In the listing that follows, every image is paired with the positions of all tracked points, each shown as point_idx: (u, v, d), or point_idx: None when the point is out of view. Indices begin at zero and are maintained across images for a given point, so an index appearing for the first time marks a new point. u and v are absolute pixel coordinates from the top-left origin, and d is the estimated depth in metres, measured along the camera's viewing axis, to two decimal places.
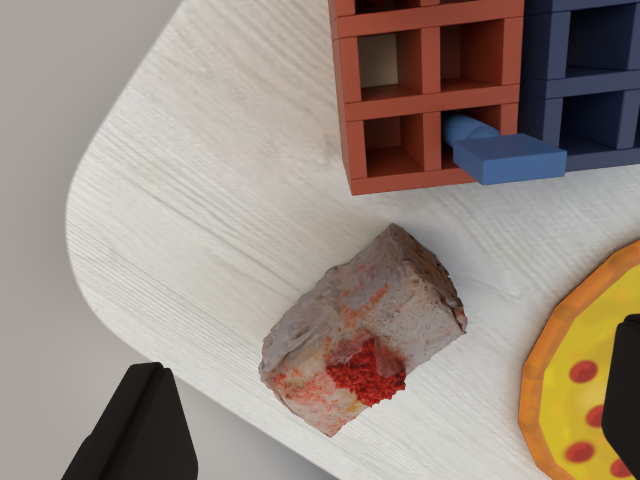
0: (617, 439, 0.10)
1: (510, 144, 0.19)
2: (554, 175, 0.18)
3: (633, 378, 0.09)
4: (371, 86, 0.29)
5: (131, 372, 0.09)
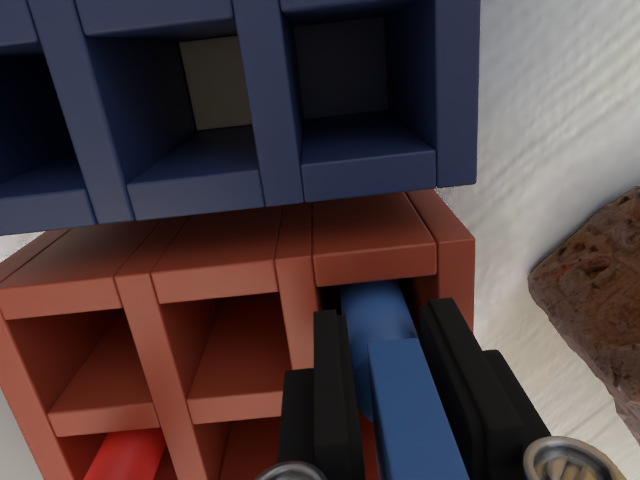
0: None
1: (385, 478, 0.08)
2: None
3: (427, 355, 0.10)
4: None
5: (318, 316, 0.10)
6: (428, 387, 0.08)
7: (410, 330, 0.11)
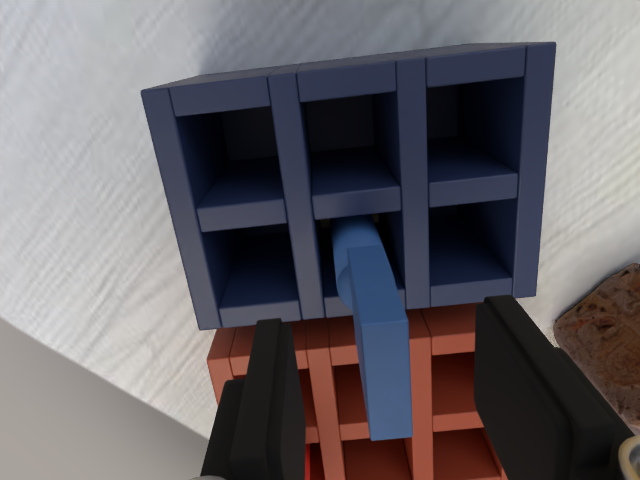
0: (481, 409, 0.11)
1: (356, 325, 0.12)
2: (405, 337, 0.10)
3: (485, 353, 0.10)
4: None
5: (260, 326, 0.10)
6: (384, 266, 0.12)
7: None
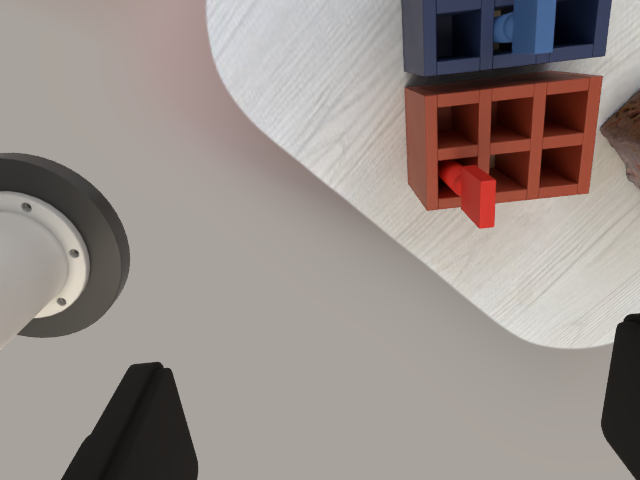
0: (617, 439, 0.10)
1: (523, 20, 0.27)
2: None
3: (633, 378, 0.09)
4: (495, 153, 0.42)
5: (131, 372, 0.09)
6: None
7: None
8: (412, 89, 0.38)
